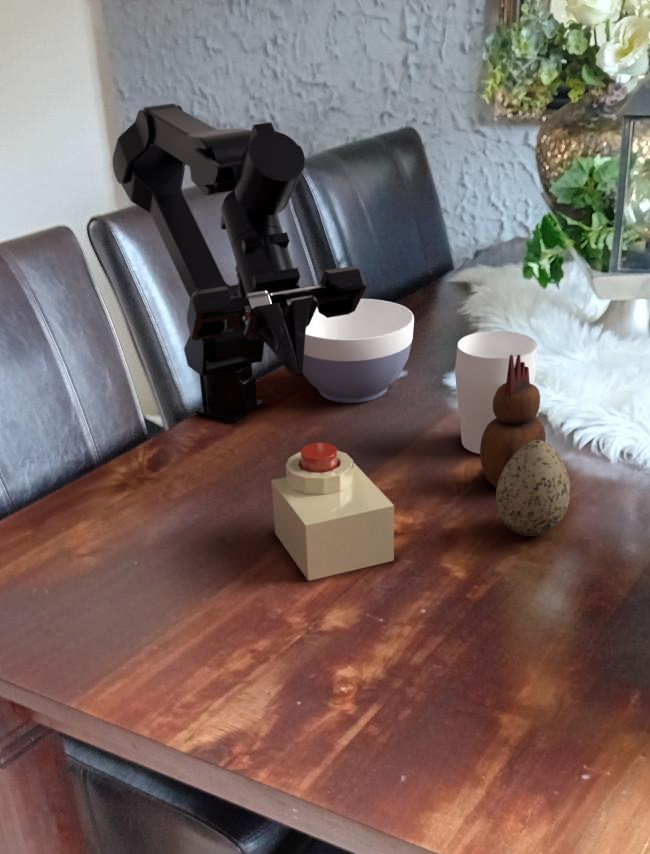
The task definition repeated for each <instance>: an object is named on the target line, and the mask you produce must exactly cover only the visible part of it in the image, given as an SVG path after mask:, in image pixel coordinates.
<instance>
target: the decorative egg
mask: <svg viewBox="0 0 650 854" xmlns="http://www.w3.org/2000/svg"><path fill="white" fill-rule="evenodd" d="M570 500H571V482H570V476H569V473H568V470H567V468H566V466H565V463H564V462H563V460H562V458H561V457H560V455H559V454H558V452H556V450H555V449H554V448H553V447H552V446H551V445H550V444H549V443H548V442H547V441H545V442H544V441H541V440H533V441H531V442H529V443H527V444H526V445H524V446H523V447H522V448H520V449H519V450H518V451H517V452H516V453H515V454H514V455H513V456H512V457H511V459H510V460H509V461H508V463H507V464H506V466H505V467H504V469H503V471H502V473H501V476H500V478H499V481H498V485H497V487H496V491H495V502H496V508H497V512H498V514H499V517H500V519H501V520H502V522H503V524H504V525H505V526H506V527H507V529H510V530H511V531H512V532H514V533H516V534H518V535H521V536H525V537H537V536H542V535H545V534H547V533H548V532H550V531H551V530H553V529H554V528H556V526H557V525H558V524H560V522H561V521H562V520H563V518H564V516H565V514H566V512H567V509H568V507H569V504H570Z"/></svg>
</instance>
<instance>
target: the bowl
mask: <svg viewBox="0 0 650 854" xmlns="http://www.w3.org/2000/svg"><path fill="white" fill-rule="evenodd" d="M414 324H415V315H414V314H413V312H412V311H411V309H409V308H408V307H406V306H404V305H402V304H399V303H396V302H392V301H387V300H383V299H374V298H361V300H360V302H359V304H358V306H357V308H356V309H355V311H354V312H352V313H350V314H347V315H341V316H336V317H330V318H327V317H325V316H324V315H322V314H320V313H319V311H318V308H316V310H315V313H314V315H313V317H312V320H311V322H310V324H309V325H308V326H307V327H306V333H305V346H304V361H303V373H302V375H304V377H305V379H306V381H307V382H308V383H309V384H311V385H312V386H313V387H314V388H316V389H317V390H318V393H319V394H320V396H322V397H323V398H325V399H327V400H329V401H332V402H336V403H337V402H338V403H342V404H343V403H346V404H356V403H365V402H370V401H373V400H376V399H378V398H380V397H382V396H384V394H386V392H387V391H388V388H389V386H391V385H392V384H393V383H394V382H395V381H396V380H397V379H398V378H399V376H400V375H401V374H402V371H403V369H404V367H405V366H406V364H407V361H408V359H409V357H410V353H411V348H412V342H413V340H414V338H413V337H414Z"/></svg>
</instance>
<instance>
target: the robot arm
mask: <svg viewBox="0 0 650 854" xmlns="http://www.w3.org/2000/svg"><path fill="white" fill-rule="evenodd" d="M186 166H187V167H189V172H190V180H191V182H192V183H193V184H194V185H195V186H196V187H197V188H198V189H199V190H200V192H202V193H203V194H204V195H205V196H208V197H209V196H214V195H215V196H216V195H219V194H226V193H228V194H227V195H226V196H225V197H224V199H223V202H222V204H221V206H220V212H221V216H220V229H221V230H225V231H226V233H227V237H228V239H229V243H230V246H231V250H232V254H233V256H234V259H235V263H236V266H235V272H236V279H237V284H231V285H230V284H228V283H227V282H226V280H225V278H224V276H223V274H222V272H221V270H220V268H219V265H218V264H217V262H216V259H215V258H214V255H213V253H212V251H211V248H210V247H209V245H208V242H207V240H206V239H205V236H204V234H203V232H202V230H201V228H200V226H199V224H198V222H197V219H196V218H195V216H194V213H193V211H192V209H191V207H190V205H189V203H188V201H187V198H186V196H185V194H184V192H183V190H182V187H183V182H184V177H185V172H186V171H185V170H186ZM305 166H306V157H305V153H304V150H303V148H302V147H301V145H299V144H298V143H297V142H296V141H295V140H294V139H292V138H291V137H290V136H288V135H287V134H285V133H283V132H280V131H276V129H275V128H274V126H273V123H272V122H271V121H269V122H268V121H267V122H262V123H255V124H253V125H252V126H251V129H244V128H225V129H224V128H223V129H220V128H215V127H214V126H211V125H210V124H208V123H206V122H205V121H203V120H201V119H199V118H197V117H195V116H193V115H192V114H190V113H188V112H186V111H184V110H183V108H182V106H181V105H180V104H175V103H172V102H171V103H164V104H158V105H157V104H155V105H149V106H144V107H143V108H142V109H139V110H138V112H137V115H136V118H135V121H134V122H133V123H132V124H130V126H129V127H128V128H127V129H125V131H124V132H122V134H121V135H119V136H118V138H117V141H116V144H115V147H114V150H113V155H112V169H113V173H114V176H115V179H116V181H117V182H118V184H120V185H121V186H122V188H123V190H124V192H125V194H126V195H127V197H128V199H129V200H130V202H131V203H133V204H135V205H136V206H138V207H139V208H141V209H143V210H144V211H146V212H147V213H149V214H150V216H151V218H152V220H153V222H154V224H155V227H156V228H157V231H158V233H159V235H160V237H161V238H162V242H163V243H164V246H165V248H166V250H167V252H168V254H169V257H170V259H171V260H172V263H173V265H174V267H175V269H176V272H177V274H178V276H179V278H180V280H181V281H182V284H183V287H184V289H185V291H186V293H187V295H188V297H189V303H188V308H187V315H186V321H187V322H186V323H187V327H188V331H189V336H188V338H187V341H186V342H185V346H184V348H183V351H184V355H185V359H186V364H187V366H188V367H189V368H190V369H192V370H193V372H196V373H197V374H198V375H199V385H200V393H201V401H202V405H200V406H199V407H197V408H196V409H195V410H194V412H195V414H196V415H199V416H200V415H201V416H204V417H209V418H214V419H218V420H222V421H225V422H230V423H236V422H238V421H239V420H241V419H243V418H244V417H246V416H248V415H249V414H251V413H252V412H254V411H256V410H257V409H259V408H260V407H262V406H263V400H261V399H258V395H257V383H256V376H254V375H253V364H255V363H262V362H263V357H264V349H265V344H266V345H267V346H268V347H269V348H270V350H271V351H272V352H273V353H274V355H275V356H276V357H277V359H278V360H279V361H280V362H281V364H282V365H283V367H284V368H285V369H286V370H287V372H288V373H289V374H290V376H291V377H292V378H293V379H299V378H302V377H303V361H304V346H305V333H306V327H307V326H308V325H309V324H310V322H311V320H312V317H313V315H314V313H315V310H316V308H318V311H319V313H320V314H322V315H324V316H325V317H327V318H330V317H336V316H341V315H347V314H350V313H352V312H354V311H355V309H356V308H357V306H358V304H359V302H360V300H361V299H363V298H362V297H363V296H364V294H365V291H366V290H367V287H368V285H367V282H366V278H365V276H364V272H362V271H361V269H360V268H358V267H357V266H355V265H351V266H345V267H339V268H331V269H325V270H324V271H323V274H322V276H321V278H320V281H319V283H318V284H314V285H308V286H301V287H300V283H299V281H300V278H301V274H300V270H299V267H294V263H293V260H292V257H291V254H290V250H289V244H290V238H289V234H288V232H284V230H283V228H282V227H283V226H282V225H281V221H280V218H279V214H280V213H282V212H283V210H285V208H286V207H287V205H288V203H289V201H290V199H291V197H292V195H293V193H294V191H295V189H296V186H297V185H298V182H299V180H300V178H301V176H302V174H303V172H304V169H305Z"/></svg>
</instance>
